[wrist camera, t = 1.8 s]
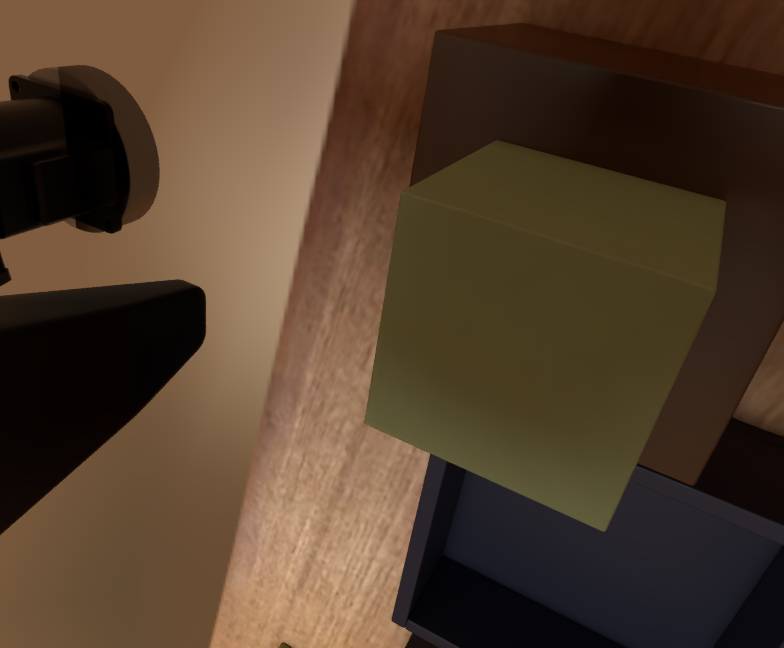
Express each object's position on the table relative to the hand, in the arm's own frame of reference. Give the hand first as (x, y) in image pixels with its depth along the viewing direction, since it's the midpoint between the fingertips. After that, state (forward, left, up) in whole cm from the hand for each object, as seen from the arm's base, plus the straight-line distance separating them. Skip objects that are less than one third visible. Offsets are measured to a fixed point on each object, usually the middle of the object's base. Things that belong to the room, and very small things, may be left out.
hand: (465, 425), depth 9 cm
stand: (0, 0, -12) cm, 12 cm away
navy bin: (+3, -11, -12) cm, 17 cm away
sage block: (0, 0, -6) cm, 6 cm away
